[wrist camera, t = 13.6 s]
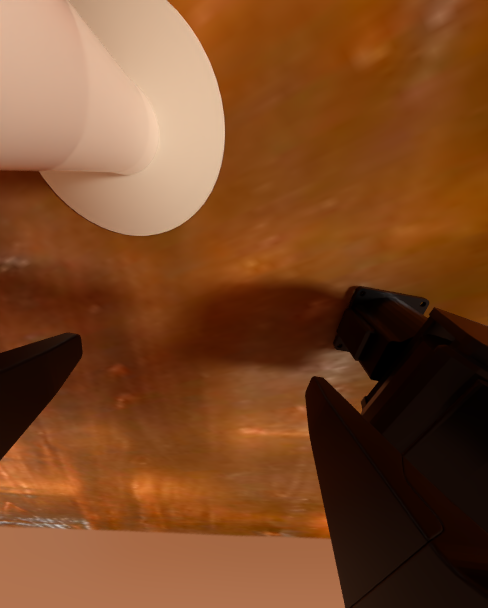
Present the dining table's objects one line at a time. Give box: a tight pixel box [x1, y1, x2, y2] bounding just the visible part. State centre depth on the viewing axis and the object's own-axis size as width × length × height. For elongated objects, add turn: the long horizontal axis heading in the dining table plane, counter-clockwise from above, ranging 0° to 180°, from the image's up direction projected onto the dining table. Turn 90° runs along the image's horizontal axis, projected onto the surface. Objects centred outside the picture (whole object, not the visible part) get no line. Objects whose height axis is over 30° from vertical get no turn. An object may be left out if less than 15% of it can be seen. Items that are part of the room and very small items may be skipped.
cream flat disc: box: [39, 0, 225, 236], centre depth 15 cm, size 14×14×1 cm
